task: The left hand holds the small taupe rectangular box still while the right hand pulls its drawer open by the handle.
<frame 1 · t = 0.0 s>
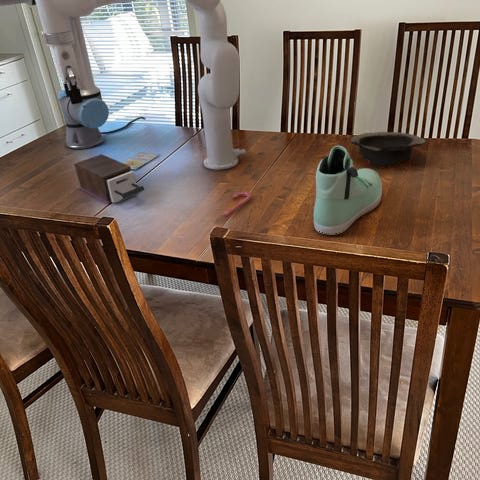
right hand: (74, 99, 144), 31 cm above the table, tool pointing down, fingers open, 9 cm apart
drawer: (114, 182, 155), point 5 cm above the table, slide at 1.2 cm
candy cane: (235, 206, 145), on the table
taupe rectangular box: (107, 190, 161), on the table
baking ingredient package: (138, 161, 182), on the table
sneaker: (348, 208, 139), on the table
stone bowl: (384, 159, 168), on the table
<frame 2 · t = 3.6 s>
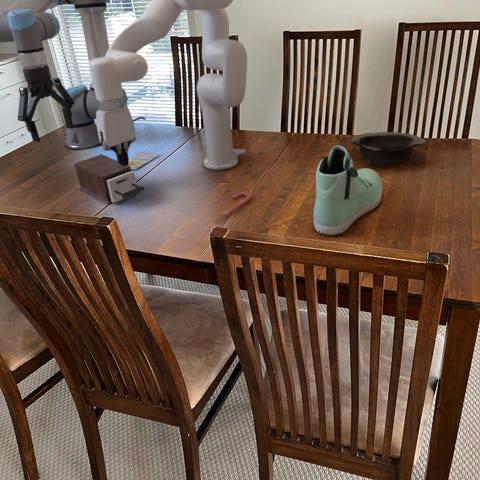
left hand: (54, 134, 155), 19 cm above the table, tool pointing down, fingers open, 13 cm apart
right hand: (124, 164, 145), 13 cm above the table, tool pointing down, fingers closed
nothing on the table moved.
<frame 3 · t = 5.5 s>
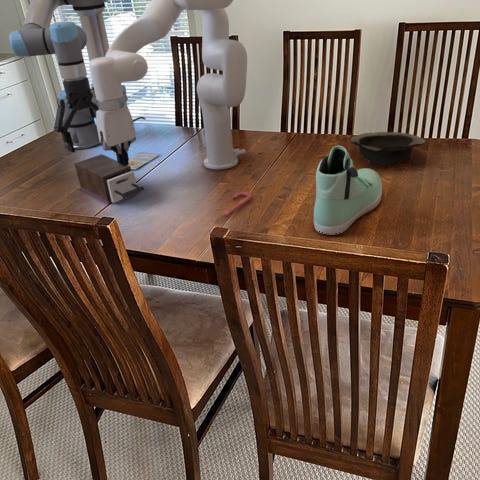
left hand: (91, 145, 156), 15 cm above the table, tool pointing down, fingers open, 13 cm apart
right hand: (124, 164, 145), 13 cm above the table, tool pointing down, fingers closed
nothing on the table moved.
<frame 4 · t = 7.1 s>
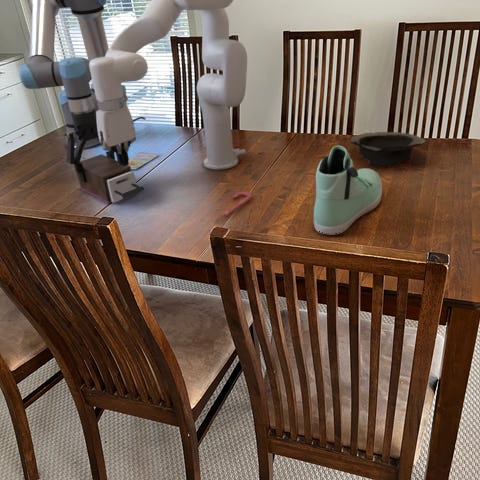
left hand: (98, 175, 162), 4 cm above the table, tool pointing down, fingers closed on taupe rectangular box, 10 cm apart
right hand: (124, 164, 145), 13 cm above the table, tool pointing down, fingers closed
taupe rectangular box: (107, 190, 161), on the table, touching left hand
everything else where it was.
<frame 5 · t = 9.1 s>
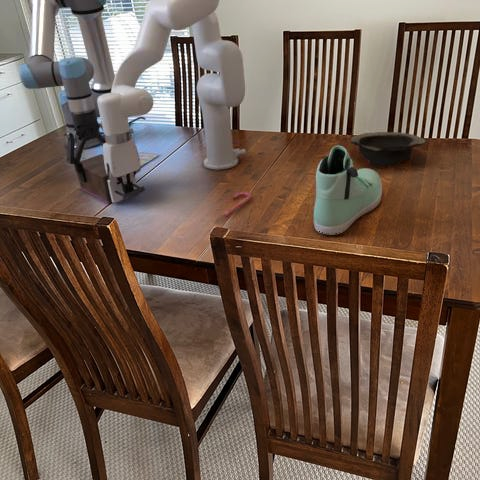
left hand: (98, 175, 162), 4 cm above the table, tool pointing down, fingers closed on taupe rectangular box, 10 cm apart
right hand: (129, 193, 150), 4 cm above the table, tool pointing down, fingers closed
taupe rectangular box: (107, 190, 161), on the table, touching left hand
everything else where it was.
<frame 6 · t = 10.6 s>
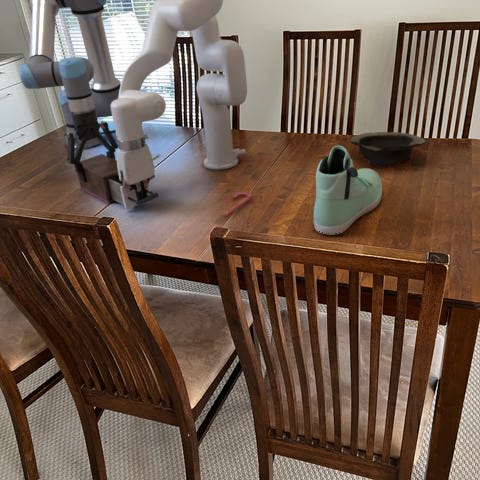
left hand: (98, 175, 162), 5 cm above the table, tool pointing down, fingers closed on taupe rectangular box, 10 cm apart
right hand: (143, 200, 146), 3 cm above the table, tool pointing down, fingers closed
drawer: (127, 188, 150), point 5 cm above the table, slide at 8.5 cm, touching right hand
taupe rectangular box: (108, 190, 161), on the table, touching left hand
everything else where it was.
when the left hand's fingers open (4 cm above the table, at t = 12.2 s): taupe rectangular box stays where it is, on the table.
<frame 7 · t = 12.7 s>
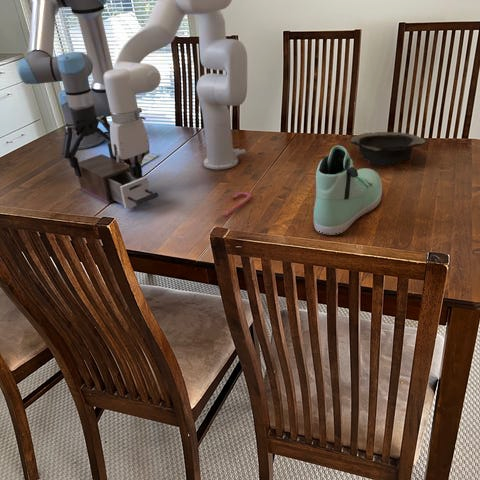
left hand: (97, 169, 161), 7 cm above the table, tool pointing down, fingers open, 13 cm apart
right hand: (137, 177, 142), 11 cm above the table, tool pointing down, fingers closed
drawer: (127, 188, 150), point 5 cm above the table, slide at 8.5 cm
taupe rectangular box: (108, 190, 161), on the table
everything else where it was.
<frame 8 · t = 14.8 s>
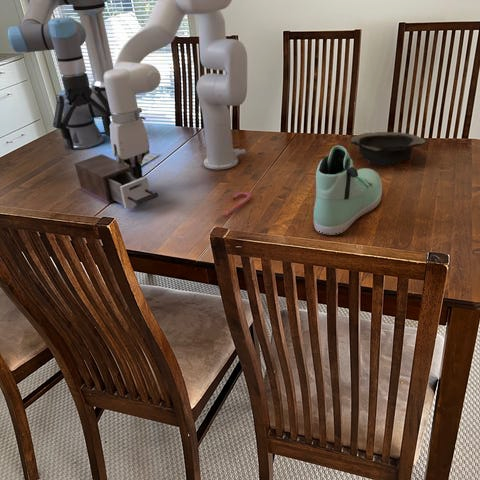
left hand: (90, 141, 155), 16 cm above the table, tool pointing down, fingers open, 13 cm apart
right hand: (137, 177, 142), 11 cm above the table, tool pointing down, fingers closed
nothing on the table moved.
at the end: drawer slide at 8.5 cm; taupe rectangular box tilted 0°; taupe rectangular box never tilted more than 1° during the clip; taupe rectangular box moved 0.1 cm from its start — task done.
